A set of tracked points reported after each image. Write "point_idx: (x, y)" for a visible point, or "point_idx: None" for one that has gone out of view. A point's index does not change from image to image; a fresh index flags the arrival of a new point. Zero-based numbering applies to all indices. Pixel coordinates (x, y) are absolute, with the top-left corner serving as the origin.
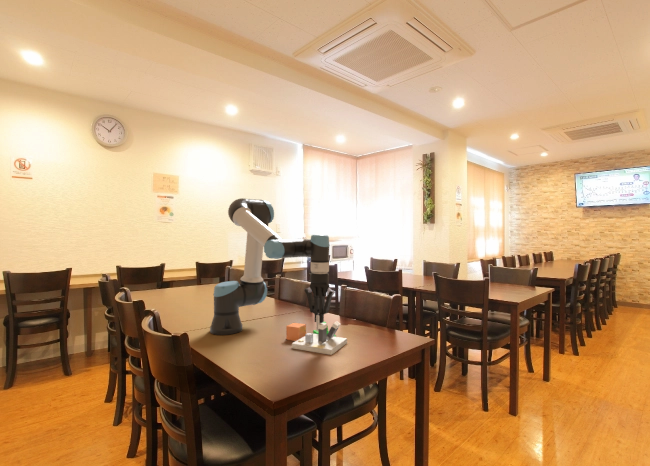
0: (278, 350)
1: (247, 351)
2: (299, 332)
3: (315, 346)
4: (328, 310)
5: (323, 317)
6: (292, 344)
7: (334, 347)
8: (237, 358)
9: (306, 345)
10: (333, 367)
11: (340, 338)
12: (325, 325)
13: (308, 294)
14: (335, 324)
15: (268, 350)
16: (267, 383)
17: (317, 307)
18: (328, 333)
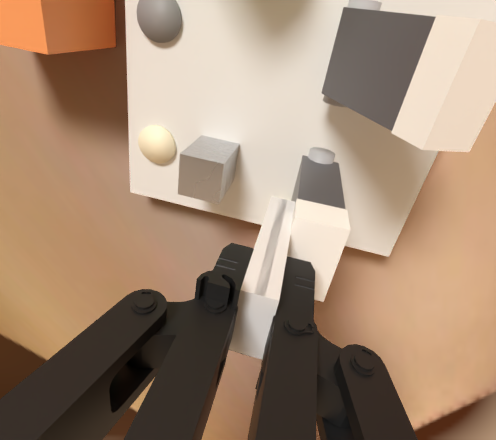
0: (105, 220)
1: (8, 249)
2: (76, 40)
3: None
4: (393, 396)
5: (312, 304)
6: (137, 190)
7: (405, 218)
8: (35, 310)
9: (223, 213)
10: (406, 360)
11: None
12: (338, 256)
13: None
14: (447, 149)
15: (67, 227)
16: (226, 436)
17: (204, 419)
18: (347, 104)
